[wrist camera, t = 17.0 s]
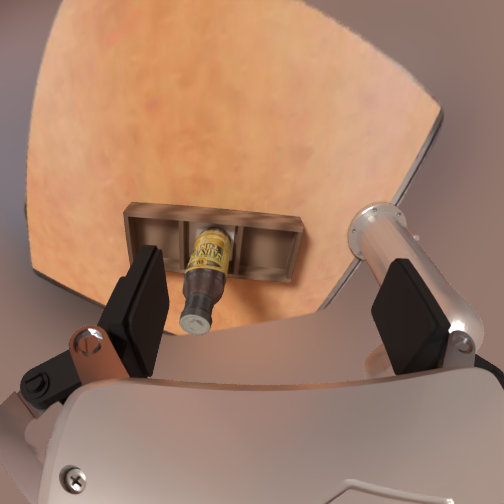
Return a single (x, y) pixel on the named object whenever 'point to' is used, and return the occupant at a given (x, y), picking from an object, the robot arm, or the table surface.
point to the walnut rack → (232, 221)
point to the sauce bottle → (205, 279)
